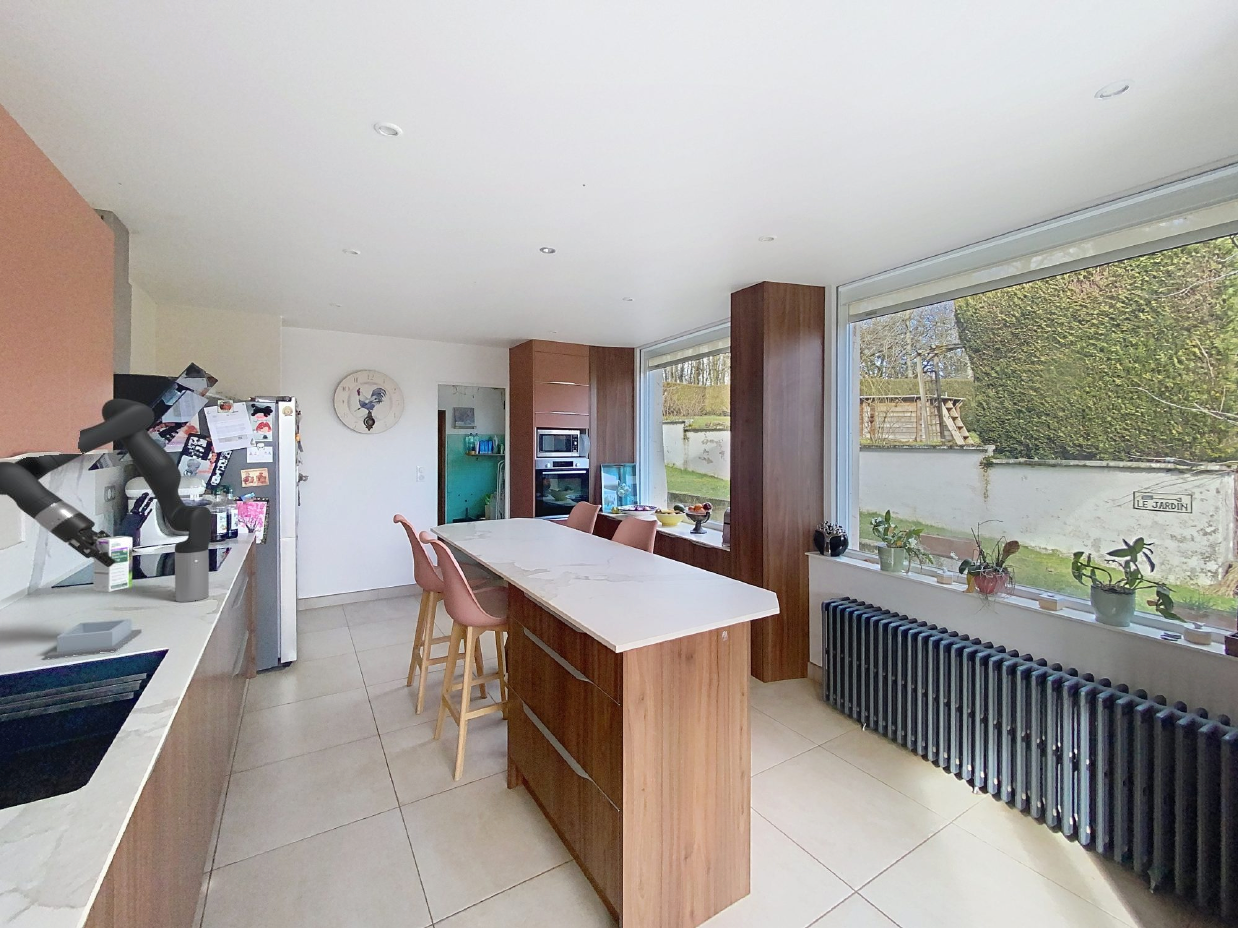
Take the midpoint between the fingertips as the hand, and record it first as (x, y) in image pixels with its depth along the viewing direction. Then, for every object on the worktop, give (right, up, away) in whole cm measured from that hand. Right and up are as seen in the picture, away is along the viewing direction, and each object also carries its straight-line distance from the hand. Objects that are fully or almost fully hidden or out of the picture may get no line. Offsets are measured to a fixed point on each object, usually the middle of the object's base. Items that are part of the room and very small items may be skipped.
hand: (119, 561), depth 144 cm
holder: (-3, -22, -4) cm, 23 cm away
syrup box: (-2, -8, 0) cm, 8 cm away
